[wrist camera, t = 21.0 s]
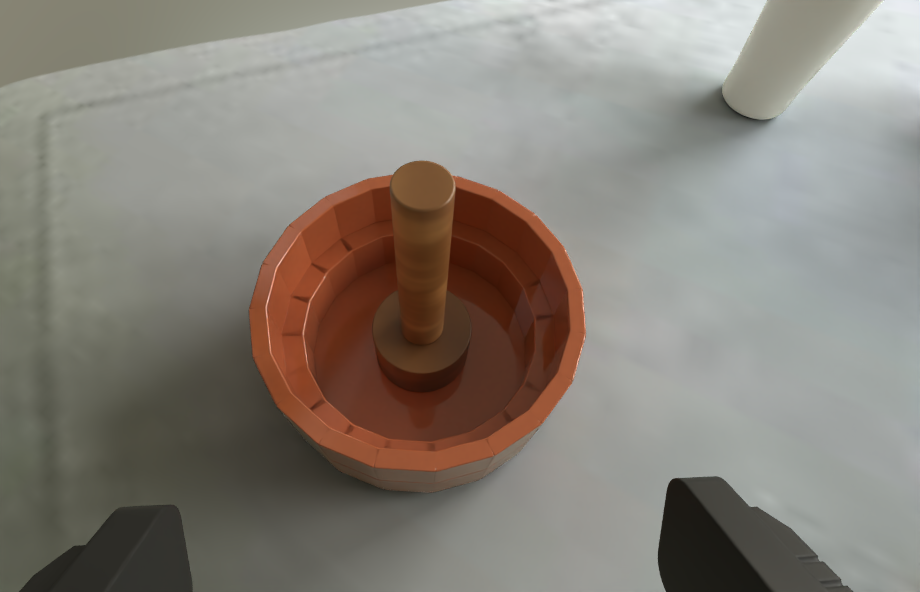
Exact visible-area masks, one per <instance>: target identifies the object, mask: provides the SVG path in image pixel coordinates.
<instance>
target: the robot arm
mask: <svg viewBox="0 0 920 592" xmlns="http://www.w3.org/2000/svg"><path fill="white" fill-rule="evenodd" d="M658 565H659V571H660V576H661V579H662V582H663V585H664V588H665V590H666V592H853V591H852V590H851V589H850V588H849V587H848V586H843V585H842V583H841V579H840V578H839V577H838V576H837V575H836V574H835V573H834V572H833V571H832V570H831V569H830V568H829V567H828V566H827V565H826V564H825V563H824V562H820V561H819V560H818V556H817V555H816V554H815V553H814V552H813V551H812V550H811V548H810V547H809V546H808V545H807V544H806V543H805V542H804V541H803V540H802V539H801V538H800V537H799V536H798V535H797V534H796V533H795V532H794V531H793V530H792V529H791V528H789V527H788V526H786V525H784V524H783V523H781V522H780V521H778V520H777V519H775V518H774V517H772V516H770V515H769V514H767V513H766V512H764V511H763V510H761V509H760V508H758V507H749V506H748V505H747V504H746V502H745V501H744V500H743V499H742V498H741V497H740V496H739V495H738V494H737V493H736V492H735V491H734V490H733V488H732V487H731V486H730V485H729V484H728V483H727V482H726V481H725V480H724V479H722V478H720V477H716V476H714V477H693V478H675V479H672V480H671V481H670V483H669V485H668V488H667V493H666V500H665V507H664V514H663V521H662V527H661V534H660V541H659V548H658ZM192 591H193V588H192V578H191V572H190V566H189V561H188V555H187V549H186V543H185V538H184V532H183V526H182V520H181V515H180V512H179V510H178V508H177V507H176V506H175V505H153V506H133V507H121V508H118V509H117V510H115V511H114V512H113V513H112V514H111V515H110V516H109V518H108V519H107V520H106V521H105V522H104V524H103V525H102V526H101V527H100V529H99V530H98V531H97V532H96V533H95V535H94V536H93V537H92V538H91V539H90V541H89V542H88V543H87V544H86V545H82V546H73V547H72V548H71V549H69V550H68V551H66V552H65V553H64V554H62V555H61V556H60V557H58V558H57V559H55V560H54V561H53V562H51V563H50V564H49V565H47V566H46V567H44V568H43V569H42V570H40V571H39V572H38V573H36V574H35V575H34V576H33V577H32V578H31V579H30V580H29V581H28V582H27V583H26V585H25V586H24V587H23V588H22V589H21V590H20V591H19V592H192Z"/></svg>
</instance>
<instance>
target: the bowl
mask: <svg viewBox="0 0 920 592" xmlns="http://www.w3.org/2000/svg"><path fill="white" fill-rule="evenodd" d="M392 176H393V175H388V176H382V177H375V178H369V179H367V180H363V181H361V182H359V183H356V184H354V185H351V186H349V187H347V188H344V189H342V190H340V191H337V192H335V193H333V194H330V195H328V196H326V197H325V198H323V199H321V200H320V201H319V202H318V203H316V204H315V205H314V206H312V207H311V208H310V209H309V210H307V211H306V212H305V213H304V214H302V215H301V216H300V217H299V218H297V219H296V220H295V221H293V222H292V223H291V224H290V225H289V226H288V227H287V228H286V230H285V231H284V232H283V234H282V235H281V237H280V238H279V240H278V241H277V243H276V244H275V245H274V247H273V248H272V250H271V251H270V253H269V254H268V255H267V257H266V258H265V260H264V261H263V263H262V265H261V269H260V272H259V276H258V279H257V283H256V286H255V290H254V293H253V297H252V300H251V304H250V307H249V321H250V333H251V345H252V357H253V359H254V362H255V364H256V366H257V369H258V371H259V373H260V375H261V377H262V379H263V381H264V383H265V385H266V387H267V389H268V391H269V393H270V395H271V397H272V399H273V401H274V403H275V405H276V406H277V408H278V409H279V410H280V411H281V412H282V414H283V415H284V416H285V417H286V418H287V419H288V421H289V422H290V423H291V424H292V425H293V426H294V427H295V429H296V430H297V431H298V432H299V433H300V434H301V436H302V437H303V438H304V439H305V440H306V441H307V442H308V443H309V444H310V445H311V446H312V447H313V448H314V449H315V450H317V451H318V452H319V453H320V454H321V455H322V456H323V457H324V458H325V459H326V460H327V461H328V462H329V463H331V464H332V465H333V466H334V467H335V468H336V469H337V470H339V471H340V472H343V473H345V474H348V475H350V476H352V477H355V478H357V479H359V480H362V481H364V482H366V483H369V484H371V485H374V486H376V487H378V488H381V489H384V490H396V491H412V492H428V493H432V492H438V491H441V490H445V489H448V488H452V487H456V486H459V485H463V484H467V483H470V482H474V481H478V480H480V479H482V478H483V477H485V476H486V475H488V474H489V473H491V472H492V471H494V470H495V469H497V468H498V467H499V466H501V465H502V464H504V463H505V462H507V461H508V460H510V459H511V458H513V457H514V456H515V455H517V454H518V453H519V452H520V451H521V450H522V449H523V447H524V446H525V445H526V444H527V442H528V441H529V440H530V439H531V437H532V436H533V435H534V434H535V432H536V431H537V430H538V429H539V427H540V426H541V425H542V424H543V422H544V421H545V419H546V418H547V417H548V415H549V414H550V413H551V411H552V410H553V409H554V407H555V406H556V404H557V403H558V402H559V400H560V399H561V398H562V396H563V395H564V393H565V392H566V391H567V389H568V388H569V387H570V385H571V384H572V382H573V380H574V377H575V373H576V369H577V366H578V362H579V359H580V355H581V352H582V348H583V345H584V341H585V338H586V325H585V312H584V299H583V290H582V286H581V284H580V282H579V279H578V277H577V275H576V272H575V270H574V268H573V265H572V263H571V261H570V259H569V256H568V254H567V252H566V249H565V248H564V246H563V245H562V244H561V243H560V242H559V241H558V239H557V238H556V237H555V236H554V235H553V234H552V232H551V231H550V230H549V229H548V228H547V227H546V226H545V224H544V223H543V222H542V221H541V220H540V219H539V218H538V216H537V215H535V213H533V212H531V211H530V210H528V209H527V208H525V207H524V206H522V205H521V204H519V203H518V202H516V201H515V200H513V199H512V198H510V197H509V196H507V195H506V194H504V193H502V192H501V191H498V190H497V189H494V188H491V187H488V186H485V185H482V184H479V183H476V182H473V181H470V180H467V179H464V178H461V177H458V176H457V177H456V176H452V177H453V179H454V181H455V185H456V190H455V202H454V213H453V224H452V235H451V247H450V258H449V269H448V280H447V290H448V291H450V292H451V293H453V294H454V295H455V296H456V297H457V298H458V299H460V301H461V302H462V303H463V304H464V306H465V307H466V309H467V311H468V313H469V316H470V319H471V325H472V333H471V339H470V344H469V349H468V354H467V358H466V362H465V365H464V367H463V369H462V370H461V372H460V374H459V375H458V376H457V377H456V378H455V379H454V380H453V381H452V382H451V383H449V384H448V385H446V386H444V387H442V388H440V389H438V390H434V391H430V392H413V391H409V390H405V389H403V388H401V387H398V386H397V385H395V384H394V383H392V382H391V381H390V380H389V379H388V378H387V377H386V376H385V375H384V373H383V372H382V370H381V368H380V366H379V364H378V361H377V356H376V351H375V346H374V341H373V336H372V323H373V318H374V315H375V313H376V311H377V309H378V307H379V305H380V304H381V303H382V302H383V300H385V299H386V298H387V297H388V296H389V295H390V294H391V293H393V292H395V291H396V290H398V285H397V272H396V260H395V248H394V235H393V223H392V211H391V199H390V181H391V178H392Z"/></svg>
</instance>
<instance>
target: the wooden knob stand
mask: <svg viewBox="0 0 920 592" xmlns="http://www.w3.org/2000/svg"><path fill="white" fill-rule="evenodd" d="M455 190H456V185H455V181H454V179H453V177H452V175H451V174H450V172H449V171H448V170H447V169H445V168H444V167H443V166H441V165H439V164H437V163H434V162H430V161H414V162H410V163H407V164H405V165H403V166H401V167H400V168H399V169H398V170H397V171H396V172H395V173H394V174H393V176H392V178H391V181H390V199H391V211H392V223H393V235H394V248H395V260H396V272H397V285H398V290H396V291H395V292H393V293H391V294H390V295H389V296H388V297H387V298H386V299H385V300H383V302H382V303H381V304H380V305H379V307H378V309H377V311H376V313H375V315H374V318H373V323H372V336H373V341H374V346H375V351H376V356H377V361H378V364H379V366H380V368H381V370H382V372H383V373H384V375H385V376H386V377H387V378H388V379H389V380H390V381H391V382H392V383H394V384H395V385H397V386H398V387H401V388H403V389H405V390H409V391H413V392H430V391H434V390H438V389H440V388H442V387H444V386H446V385H448V384H449V383H451V382H452V381H453V380H454V379H455V378H456V377H457V376H458V375H459V374H460V372H461V370H462V369H463V367H464V365H465V362H466V358H467V354H468V349H469V344H470V339H471V333H472V325H471V319H470V316H469V313H468V311H467V309H466V307H465V306H464V304H463V303H462V302H461V301H460V299H458V298H457V297H456V296H455V295H454V294H453V293H451V292H450V291H448V290H447V280H448V269H449V258H450V247H451V235H452V224H453V213H454V202H455Z"/></svg>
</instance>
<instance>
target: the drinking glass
mask: <svg viewBox="0 0 920 592" xmlns="http://www.w3.org/2000/svg"><path fill="white" fill-rule="evenodd" d="M883 1H884V0H767V2H766V4H765V6H764V8H763V10H762V12H761V14H760V16H759V18H758V20H757V22H756V24H755V25H754V27H753V29H752V31H751V33H750V35H749V37H748V39H747V41H746V43H745V45H744V47H743V49H742V51H741V53H740V55H739V57H738V59H737V61H736V62H735V64H734V66H733V68H732V69H731V71H730V72H729V74H728V76H727V77H726V79H725V81H724V83H723V87H722V93H723V97H724V99H725V101H726V102H727V104H728V105H729V106H730V107H731V108H732V109H733V110H735V111H736V112H738V113H740V114H741V115H744V116H746V117H749V118H753V119H760V120H765V119H771V118H774V117H777V116H779V115H780V114H782V113H783V112H784V111H785V110H786V109H787V107H788V106H789V105H790V104H791V102H792V101H793V100H794V99H795V97H796V96H797V95H798V94H799V93H800V91H801V90H802V89H803V88H804V87H805V86H806V85H807V84H808V83H809V81H810V80H811V79H812V78H813V77H814V76H815V75H816V74H817V73H818V72H819V70H820V69H821V68H822V67H823V66H824V65H825V64H826V63H827V62H828V61H829V60H830V59H831V57H832V56H833V55H834V54H835V53H836V52H837V51H838V50H839V49H840V48H841V47H842V46H843V44H844V43H845V42H846V41H847V40H848V39H849V38H850V37H851V36H852V35H853V34H854V33H855V32H856V30H857V29H858V28H859V27H860V26H861V25H862V24H863V23H864V22H865V21H866V20H867V19H868V17H869V16H870V15H871V14H872V13H873V12H874V11H875V10H876V9H877V8H878V7H879V6H880V5H881V3H882V2H883Z"/></svg>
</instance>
